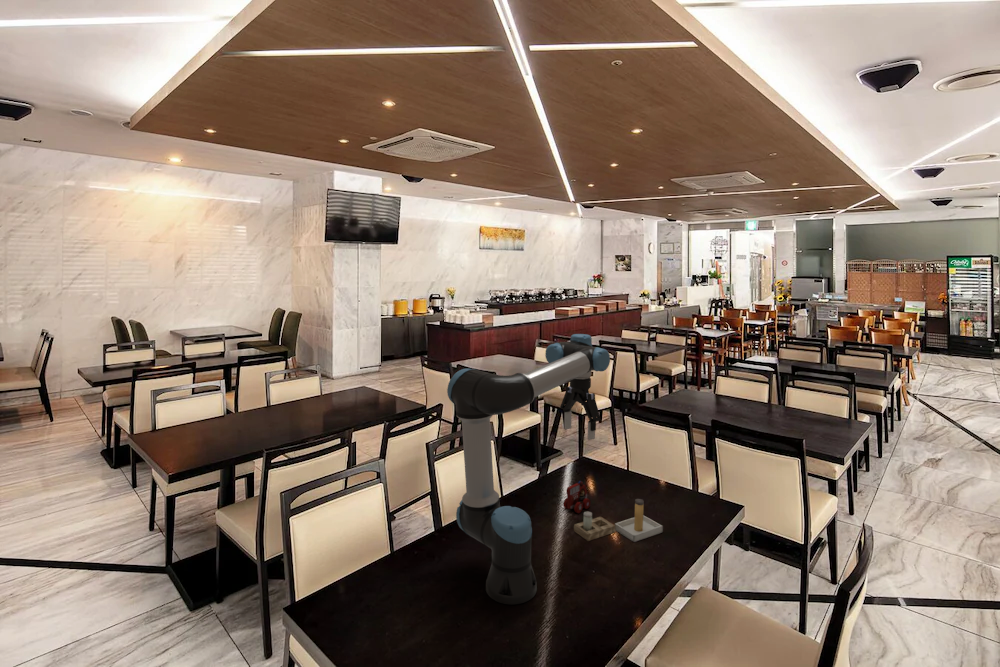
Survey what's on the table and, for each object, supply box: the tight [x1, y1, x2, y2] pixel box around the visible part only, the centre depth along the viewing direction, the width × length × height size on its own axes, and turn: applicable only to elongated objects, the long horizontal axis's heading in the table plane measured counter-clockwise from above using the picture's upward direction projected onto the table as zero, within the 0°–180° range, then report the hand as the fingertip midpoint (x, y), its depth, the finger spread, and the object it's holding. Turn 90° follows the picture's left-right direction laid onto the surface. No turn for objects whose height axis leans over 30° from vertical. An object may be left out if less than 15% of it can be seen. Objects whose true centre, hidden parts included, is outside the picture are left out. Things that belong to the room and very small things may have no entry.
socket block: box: [573, 516, 616, 542], centre depth 188 cm, size 12×8×2 cm, turn 120°
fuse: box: [583, 511, 593, 531], centre depth 186 cm, size 3×3×8 cm
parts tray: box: [614, 514, 664, 543], centre depth 188 cm, size 14×10×2 cm
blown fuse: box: [634, 498, 645, 531], centre depth 188 cm, size 3×3×11 cm
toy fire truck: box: [563, 480, 591, 514], centre depth 206 cm, size 7×12×10 cm, turn 135°
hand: (579, 433), depth 190 cm, fingers open, 13 cm apart
